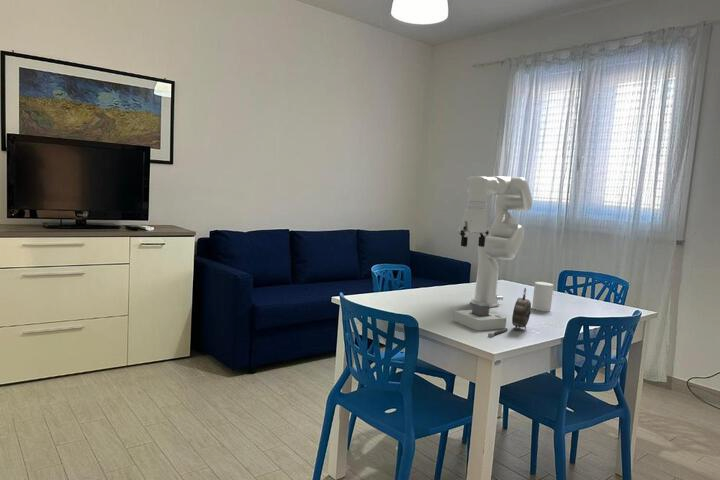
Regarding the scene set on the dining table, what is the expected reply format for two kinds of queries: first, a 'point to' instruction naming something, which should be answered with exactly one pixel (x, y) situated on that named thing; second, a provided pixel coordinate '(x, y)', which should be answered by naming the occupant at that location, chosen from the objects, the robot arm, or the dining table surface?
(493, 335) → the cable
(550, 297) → the cup
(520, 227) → the robot arm
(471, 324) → the plate
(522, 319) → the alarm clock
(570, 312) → the dining table surface
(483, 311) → the charger
